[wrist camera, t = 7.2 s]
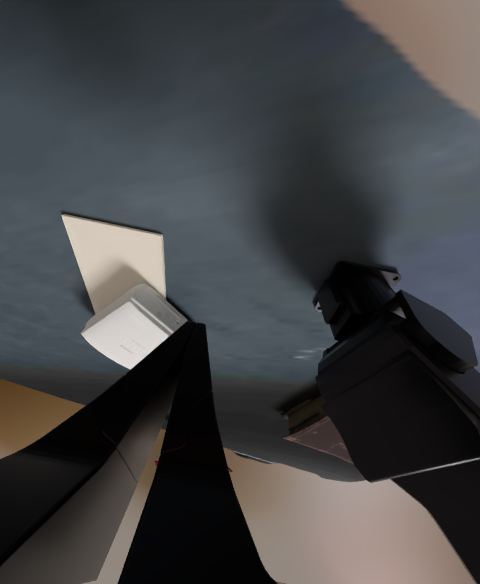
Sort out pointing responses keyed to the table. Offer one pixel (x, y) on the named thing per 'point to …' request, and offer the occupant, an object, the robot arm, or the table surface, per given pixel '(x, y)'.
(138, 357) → the photo printer
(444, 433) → the robot arm
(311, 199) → the table surface
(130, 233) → the mat
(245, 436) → the table surface
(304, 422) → the diary
